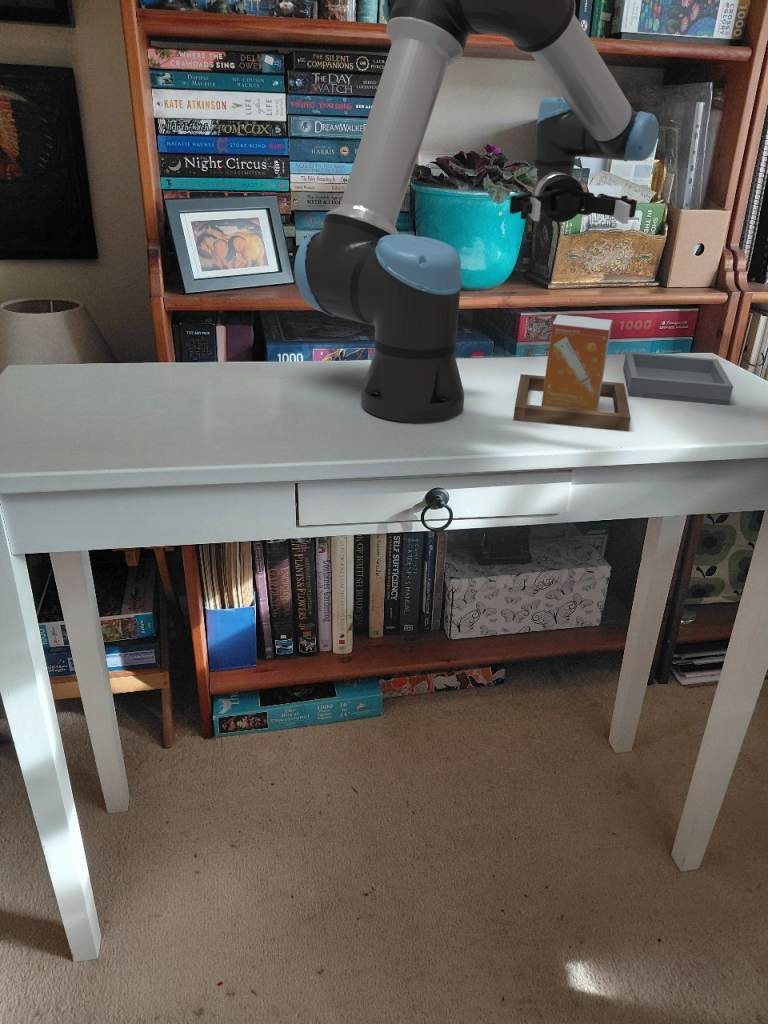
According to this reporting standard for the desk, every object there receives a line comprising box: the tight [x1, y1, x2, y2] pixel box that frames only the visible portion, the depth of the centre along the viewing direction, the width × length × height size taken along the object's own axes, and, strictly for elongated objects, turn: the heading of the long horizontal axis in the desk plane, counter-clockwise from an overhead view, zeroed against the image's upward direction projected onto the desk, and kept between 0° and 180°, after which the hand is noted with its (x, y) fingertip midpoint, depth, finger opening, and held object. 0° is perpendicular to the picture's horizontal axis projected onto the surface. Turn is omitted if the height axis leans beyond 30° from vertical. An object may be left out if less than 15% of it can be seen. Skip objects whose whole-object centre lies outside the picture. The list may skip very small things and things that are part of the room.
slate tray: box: [622, 351, 734, 406], centre depth 133 cm, size 15×15×3 cm
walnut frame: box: [512, 373, 631, 432], centre depth 123 cm, size 16×16×2 cm
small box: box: [540, 314, 613, 411], centre depth 120 cm, size 8×6×13 cm
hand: (582, 213), depth 126 cm, fingers open, 13 cm apart
